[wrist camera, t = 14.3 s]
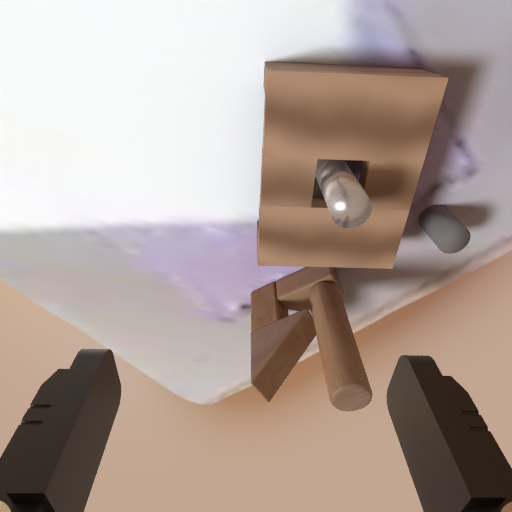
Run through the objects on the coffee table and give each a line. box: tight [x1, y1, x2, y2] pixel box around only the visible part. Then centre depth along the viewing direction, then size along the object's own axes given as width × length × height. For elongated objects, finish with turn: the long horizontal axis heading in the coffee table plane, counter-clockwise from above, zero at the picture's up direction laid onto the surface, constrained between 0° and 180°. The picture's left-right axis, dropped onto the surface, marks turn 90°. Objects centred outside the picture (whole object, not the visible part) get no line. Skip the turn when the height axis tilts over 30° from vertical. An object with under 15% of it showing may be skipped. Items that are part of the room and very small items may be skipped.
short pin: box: [419, 205, 470, 253], centre depth 40 cm, size 3×3×5 cm
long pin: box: [315, 159, 372, 228], centre depth 34 cm, size 3×3×11 cm
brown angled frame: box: [251, 267, 372, 411], centre depth 39 cm, size 4×11×18 cm, turn 119°
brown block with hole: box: [257, 62, 449, 269], centre depth 36 cm, size 18×14×6 cm
